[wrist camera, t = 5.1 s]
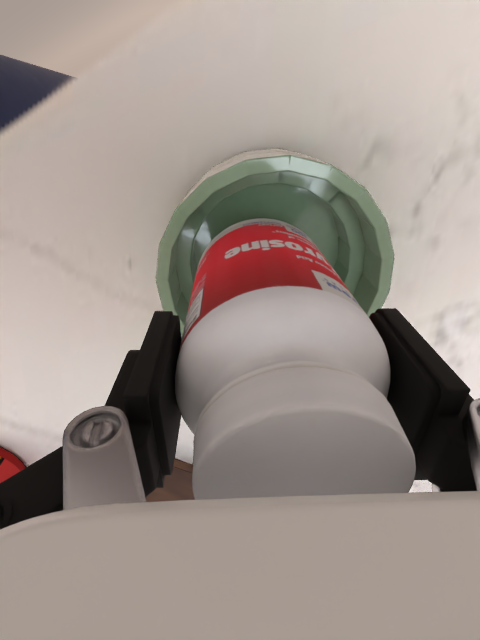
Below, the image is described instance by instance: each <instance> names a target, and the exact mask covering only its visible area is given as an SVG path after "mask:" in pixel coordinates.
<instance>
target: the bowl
mask: <svg viewBox="0 0 480 640" xmlns="http://www.w3.org/2000/svg"><path fill="white" fill-rule="evenodd" d="M256 218H267V219H275V220H279V221H283V222H286V223H288V224H290V225H293V226H295V227H296V228H298V229H300V230H301V231H302V232H304V233H305V234H306V235H307V236H308V237H309V238H310V239H311V240H312V241H313V242H314V244H315V245H316V246H317V247H318V249H319V250H320V252H321V253H322V254H323V255H324V257H325V258H326V260H327V261H328V262H329V264H330V265H331V266H332V268H333V269H334V270H335V272H336V273H337V274H338V276H339V277H340V279H341V280H342V282H343V283H344V284H345V286H346V287H347V288H348V290H349V291H350V293H351V294H352V295H353V297H354V298H355V300H356V301H357V302H358V304H359V305H360V307H361V308H362V309H363V311H364V312H365V313H366V314H367V316H368V317H370V315H371V313H375V311H376V310H377V309H381V308H382V306H383V304H384V302H385V300H386V298H387V296H388V293H389V290H390V284H391V277H392V270H393V263H394V252H393V247H392V242H391V237H390V233H389V228H388V223H387V221H386V218H385V217H384V215H383V214H382V212H381V211H380V209H379V208H378V206H377V205H376V203H375V202H374V200H373V199H372V197H371V195H370V194H369V192H368V191H367V190H366V189H365V188H364V187H363V186H362V185H360V184H359V183H357V182H356V181H354V180H353V179H352V178H350V177H349V176H347V175H346V174H344V173H343V172H342V171H340V170H339V169H337V168H336V167H335V166H333V165H331V164H328V163H326V162H323V161H321V160H318V159H316V158H313V157H311V156H308V155H304V154H300V153H296V152H292V151H288V150H284V149H280V148H273V149H264V150H255V151H246V152H242V153H240V154H238V155H236V156H234V157H232V158H230V159H228V160H226V161H224V162H221V163H219V164H217V165H215V166H213V168H211V169H210V170H209V171H208V172H207V173H206V174H205V175H204V176H203V177H202V178H201V179H200V180H199V181H198V182H197V183H196V184H195V185H194V186H193V187H192V188H191V189H190V190H189V192H188V193H187V194H186V196H185V197H184V198H183V200H182V201H181V203H180V204H179V205H178V207H177V208H176V210H175V212H174V214H173V216H172V218H171V220H170V222H169V224H168V226H167V229H166V231H165V233H164V235H163V237H162V239H161V241H160V245H159V251H158V261H157V271H156V283H157V287H158V291H159V295H160V300H161V304H162V308H163V311H172V312H173V315H179V319H180V328H181V338H182V335H183V332H184V326H185V321H186V316H187V313H188V308H189V303H190V299H191V294H192V290H193V285H194V281H195V276H196V272H197V268H198V265H199V261H200V259H201V257H202V254H203V253H204V251H205V249H206V248H207V246H208V245H209V244H210V242H211V241H212V240H213V239H214V238H215V237H216V236H217V235H218V234H219V233H221V232H222V231H223V230H225V229H226V228H228V227H230V226H232V225H234V224H236V223H238V222H241V221H245V220H250V219H256Z"/></svg>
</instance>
